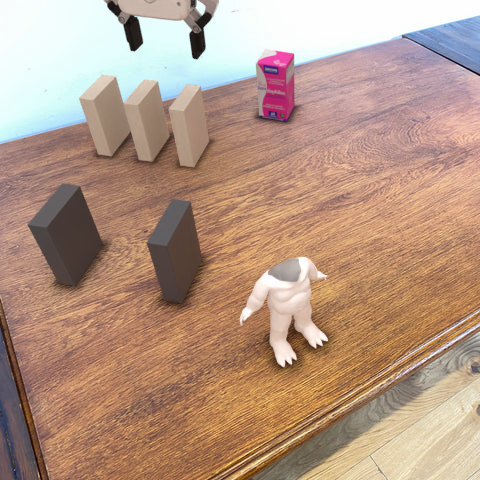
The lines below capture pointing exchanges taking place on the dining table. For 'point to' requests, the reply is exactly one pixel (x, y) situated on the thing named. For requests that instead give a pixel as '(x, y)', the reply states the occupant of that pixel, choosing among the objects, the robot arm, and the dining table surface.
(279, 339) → the toy creature
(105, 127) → the white book
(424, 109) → the dining table surface
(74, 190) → the dark grey block
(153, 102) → the white book
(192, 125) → the white book
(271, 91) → the supplement box
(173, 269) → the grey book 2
